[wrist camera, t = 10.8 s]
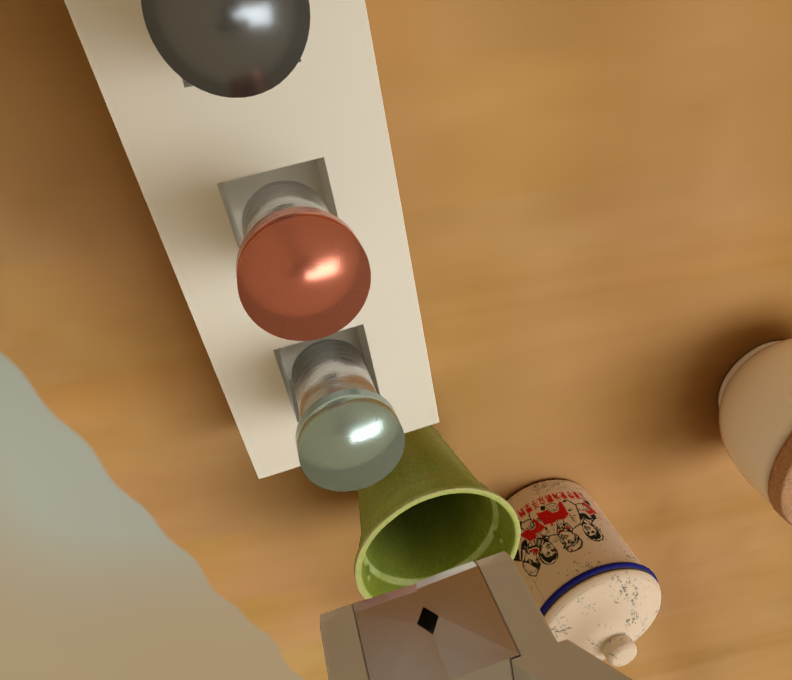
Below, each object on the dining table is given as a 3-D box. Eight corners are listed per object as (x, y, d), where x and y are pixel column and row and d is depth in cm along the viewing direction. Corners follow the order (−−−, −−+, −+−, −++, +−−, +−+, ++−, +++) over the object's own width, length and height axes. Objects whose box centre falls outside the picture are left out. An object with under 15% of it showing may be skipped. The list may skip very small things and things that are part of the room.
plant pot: (302, 441, 37) (325, 549, 30) (437, 371, 38) (492, 461, 30) (364, 529, 42) (396, 639, 35) (483, 467, 43) (539, 564, 35)
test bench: (43, -119, 22) (4, -147, 18) (308, -165, 24) (329, -200, 19) (253, 422, 36) (258, 479, 32) (413, 374, 37) (439, 422, 33)
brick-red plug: (216, 185, 24) (218, 238, 19) (325, 158, 24) (356, 202, 19) (250, 284, 26) (260, 355, 21) (348, 257, 27) (381, 320, 21)
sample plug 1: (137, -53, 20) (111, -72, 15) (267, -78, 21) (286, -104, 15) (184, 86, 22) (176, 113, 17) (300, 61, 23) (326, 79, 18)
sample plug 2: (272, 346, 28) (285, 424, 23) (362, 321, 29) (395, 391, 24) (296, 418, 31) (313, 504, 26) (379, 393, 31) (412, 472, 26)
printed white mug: (577, 455, 44) (681, 584, 35) (601, 527, 49) (697, 659, 40) (432, 529, 44) (495, 680, 34) (470, 595, 49) (534, 743, 39)
